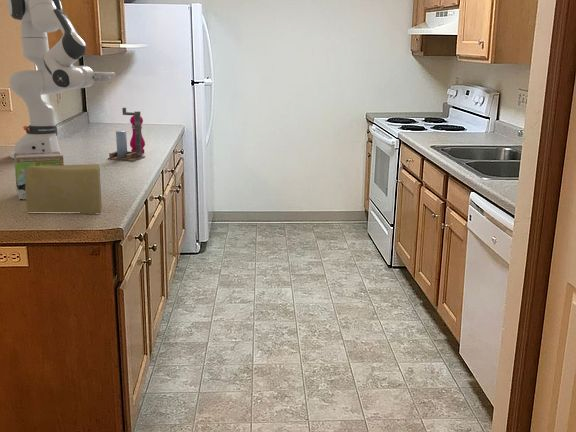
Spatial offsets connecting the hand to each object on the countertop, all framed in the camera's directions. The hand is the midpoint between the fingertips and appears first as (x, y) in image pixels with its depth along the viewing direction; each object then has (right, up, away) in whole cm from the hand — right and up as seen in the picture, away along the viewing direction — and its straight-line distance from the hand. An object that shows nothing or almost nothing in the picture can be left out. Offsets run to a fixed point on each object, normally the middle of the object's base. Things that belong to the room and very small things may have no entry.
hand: (101, 75), depth 266 cm
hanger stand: (+6, -34, +20) cm, 40 cm away
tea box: (-5, -54, -52) cm, 75 cm away
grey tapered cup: (+4, -34, +19) cm, 39 cm away
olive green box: (+10, -60, -72) cm, 94 cm away
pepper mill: (+7, -30, +34) cm, 46 cm away
